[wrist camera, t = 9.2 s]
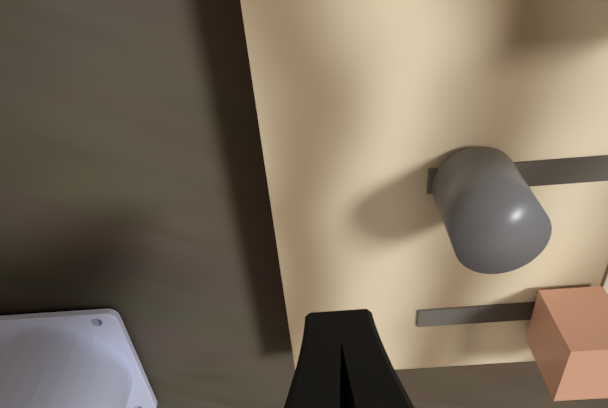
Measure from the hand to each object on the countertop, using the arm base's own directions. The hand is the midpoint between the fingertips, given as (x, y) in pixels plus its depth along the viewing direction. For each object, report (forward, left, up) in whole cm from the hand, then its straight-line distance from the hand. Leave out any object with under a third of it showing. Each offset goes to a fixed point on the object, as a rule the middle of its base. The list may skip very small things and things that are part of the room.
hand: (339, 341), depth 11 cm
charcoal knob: (+5, -1, -7) cm, 9 cm away
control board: (+5, -1, -9) cm, 11 cm away
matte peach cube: (+9, -8, -7) cm, 14 cm away
